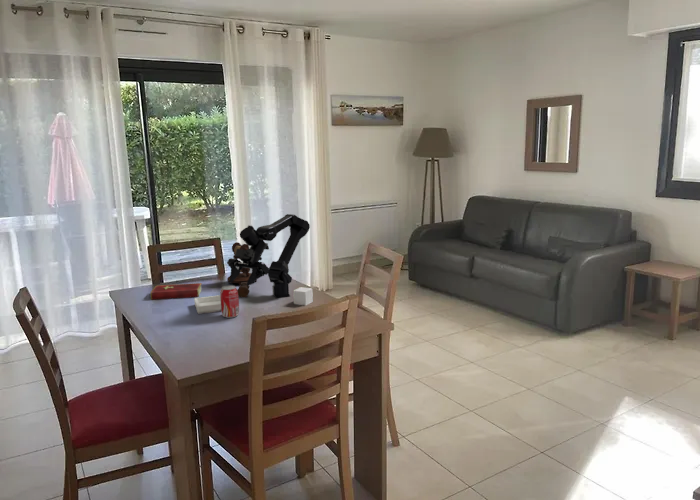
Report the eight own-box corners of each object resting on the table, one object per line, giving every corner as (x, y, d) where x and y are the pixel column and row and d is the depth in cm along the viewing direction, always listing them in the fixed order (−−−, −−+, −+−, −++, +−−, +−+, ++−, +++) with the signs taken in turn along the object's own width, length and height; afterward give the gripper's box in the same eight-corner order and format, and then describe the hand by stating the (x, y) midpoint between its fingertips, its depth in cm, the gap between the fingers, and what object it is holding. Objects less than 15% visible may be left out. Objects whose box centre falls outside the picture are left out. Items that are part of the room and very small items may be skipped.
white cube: (312, 301, 232) (312, 288, 231) (305, 305, 227) (305, 292, 226) (301, 300, 235) (300, 287, 234) (293, 304, 229) (293, 290, 228)
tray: (232, 300, 237) (231, 293, 236) (237, 309, 224) (236, 302, 223) (194, 304, 231) (194, 298, 230) (198, 314, 218) (197, 307, 217)
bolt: (246, 292, 256) (245, 300, 241) (237, 288, 255) (234, 295, 240) (252, 281, 255) (250, 289, 241) (242, 277, 254) (240, 284, 240)
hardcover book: (198, 298, 243) (198, 289, 242) (151, 300, 240) (150, 291, 239) (202, 291, 255) (201, 282, 254) (156, 293, 252) (155, 284, 251)
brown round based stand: (263, 281, 268) (261, 242, 264) (238, 287, 257) (236, 247, 253) (246, 277, 278) (243, 239, 274) (221, 282, 267) (219, 243, 263)
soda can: (223, 313, 218) (221, 285, 216) (240, 312, 219) (238, 284, 216) (220, 319, 211) (218, 290, 209) (238, 318, 212) (236, 289, 209)
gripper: (228, 239, 223) (211, 270, 216) (263, 242, 214) (246, 275, 207) (242, 254, 232) (226, 284, 224) (276, 258, 222) (260, 290, 215)
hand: (238, 283), depth 218 cm, fingers open, 9 cm apart
